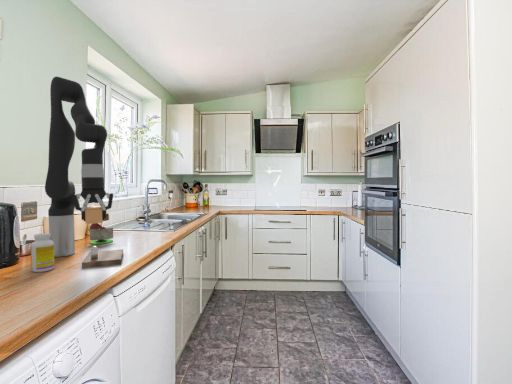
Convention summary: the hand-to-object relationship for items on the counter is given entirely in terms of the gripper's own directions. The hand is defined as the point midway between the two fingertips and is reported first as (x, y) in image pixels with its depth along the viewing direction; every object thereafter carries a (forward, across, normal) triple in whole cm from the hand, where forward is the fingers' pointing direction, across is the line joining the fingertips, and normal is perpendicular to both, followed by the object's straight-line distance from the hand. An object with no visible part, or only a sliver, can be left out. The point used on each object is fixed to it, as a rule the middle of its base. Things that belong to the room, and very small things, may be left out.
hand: (94, 220), depth 113 cm
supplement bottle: (+17, -16, -2) cm, 24 cm away
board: (+17, +3, +4) cm, 17 cm away
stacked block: (+17, -3, +44) cm, 48 cm away
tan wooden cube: (+1, 0, 0) cm, 1 cm away
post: (+15, 0, 0) cm, 15 cm away
